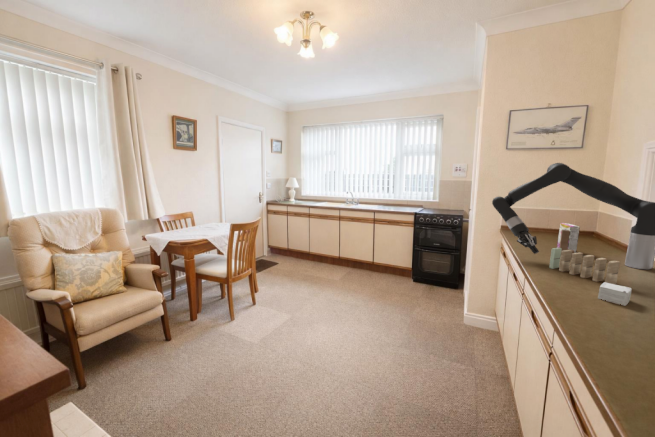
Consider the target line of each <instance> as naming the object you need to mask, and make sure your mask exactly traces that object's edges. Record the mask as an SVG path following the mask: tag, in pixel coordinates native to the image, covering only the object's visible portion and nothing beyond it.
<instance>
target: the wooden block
mask: <svg viewBox="0 0 655 437" xmlns="http://www.w3.org/2000/svg"><path fill="white" fill-rule="evenodd" d="M569 234H570V231H569V230H562V231H561V238H560V246H559V248H562V250H561V253H562V251H564V250H569V249H568V241H569ZM571 251H572V253H574V250H571ZM571 259H572V255H571Z"/></svg>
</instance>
